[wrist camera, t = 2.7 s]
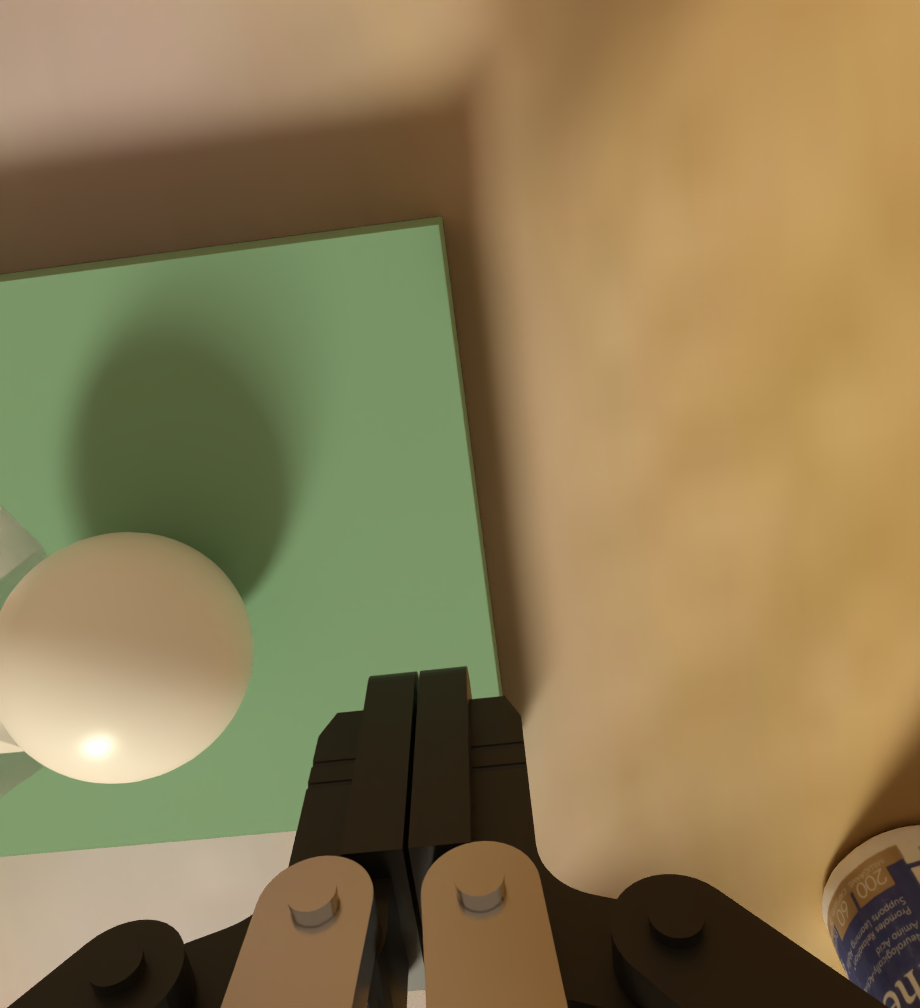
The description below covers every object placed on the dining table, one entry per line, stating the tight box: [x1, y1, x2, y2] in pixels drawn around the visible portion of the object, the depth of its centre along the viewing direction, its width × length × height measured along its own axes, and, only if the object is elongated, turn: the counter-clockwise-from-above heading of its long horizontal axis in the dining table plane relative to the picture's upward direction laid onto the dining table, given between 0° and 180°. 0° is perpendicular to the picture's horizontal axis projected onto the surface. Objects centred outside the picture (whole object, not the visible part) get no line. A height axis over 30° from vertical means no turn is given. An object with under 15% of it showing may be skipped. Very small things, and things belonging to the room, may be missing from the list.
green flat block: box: [0, 216, 503, 857], centre depth 20 cm, size 21×14×2 cm
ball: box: [0, 532, 254, 784], centre depth 17 cm, size 5×5×5 cm
